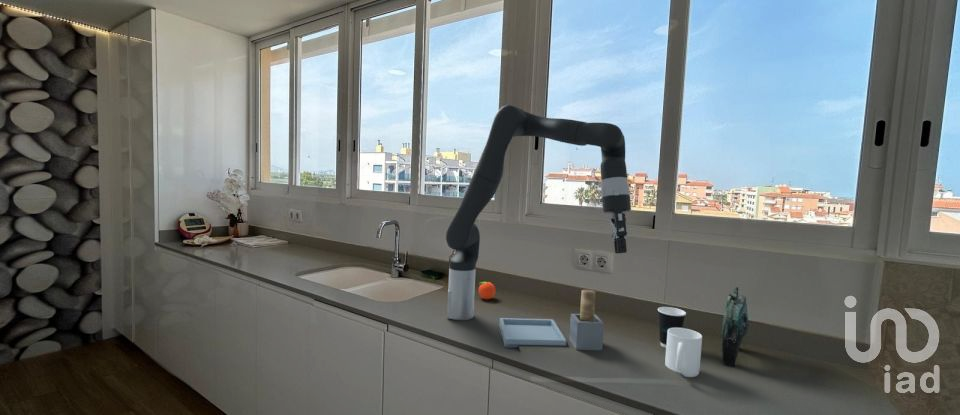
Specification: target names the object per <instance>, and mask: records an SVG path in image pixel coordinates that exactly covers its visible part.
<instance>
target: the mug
mask: <svg viewBox="0 0 960 415" xmlns="http://www.w3.org/2000/svg"><path fill="white" fill-rule="evenodd" d="M702 343H703V335H702V334H701V333H700V332H698V331H695V330H693V329H690V328H684V327H683V328H669V329H668V331H667V344H666V348H665V361H664V365H665V367H667V368H668V369H669V370H672V371H673V372H676V373H679V374H681V375H682V376H684V377H685V378H695V377H697V376H698V375H699V373H700V369H701V368H700V366H701V358H702V357H701V356H702V345H703V344H702Z"/></svg>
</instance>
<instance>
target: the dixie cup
mask: <svg viewBox="0 0 960 415" xmlns="http://www.w3.org/2000/svg"><path fill="white" fill-rule="evenodd" d="M657 312H658V326H659V331H658V332H659V343H660V346H661V347H662V348H665V349H666V344H667V331H668V329H669V328H684V327H683V326H684V322H685V317H686V315H687V312H686V311H685V310H682V309H680V308H676V307H670V306H660V307H658V308H657Z"/></svg>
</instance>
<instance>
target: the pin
mask: <svg viewBox="0 0 960 415" xmlns="http://www.w3.org/2000/svg"><path fill="white" fill-rule="evenodd" d="M595 304H596V291H595V290H592V289H582V290H581V295H580V309H579V310H580V311H579V314H580V321H589V322H594V314H595V308H596V307H595V306H596V305H595Z"/></svg>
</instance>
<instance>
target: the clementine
mask: <svg viewBox="0 0 960 415" xmlns="http://www.w3.org/2000/svg"><path fill="white" fill-rule="evenodd" d="M478 285H479V287H478V294H479V296H480V297H481V299H484V300H490V299H492V298H494V297H495V295H496V286H495V285H494V284H493V282H491V281H480V282H478Z"/></svg>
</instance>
